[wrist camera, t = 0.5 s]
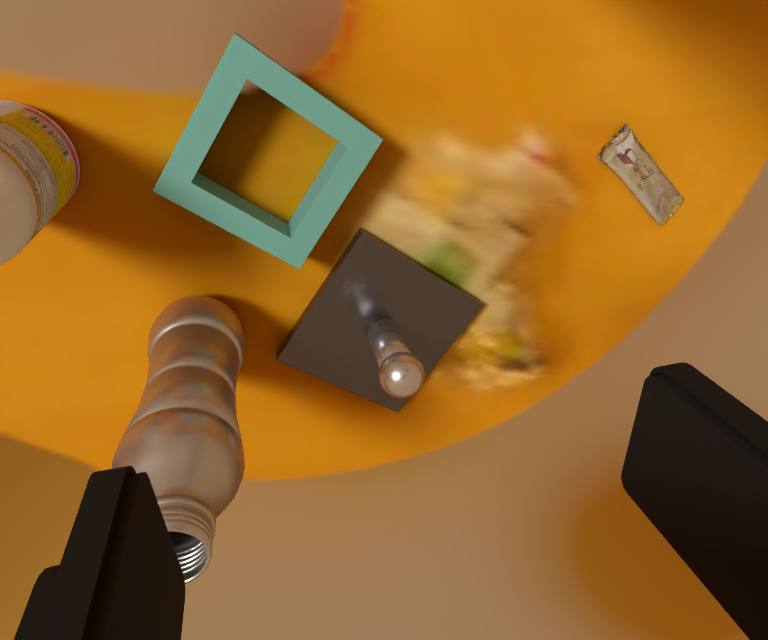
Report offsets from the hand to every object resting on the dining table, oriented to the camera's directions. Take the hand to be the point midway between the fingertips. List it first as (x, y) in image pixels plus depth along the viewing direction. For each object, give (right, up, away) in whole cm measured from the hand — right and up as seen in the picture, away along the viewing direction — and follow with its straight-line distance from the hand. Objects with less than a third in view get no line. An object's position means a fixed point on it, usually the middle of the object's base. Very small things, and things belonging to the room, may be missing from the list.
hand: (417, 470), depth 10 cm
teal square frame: (-8, +14, +25) cm, 29 cm away
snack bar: (+19, +14, +32) cm, 40 cm away
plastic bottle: (-14, +2, +29) cm, 33 cm away
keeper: (-1, +2, +33) cm, 33 cm away
